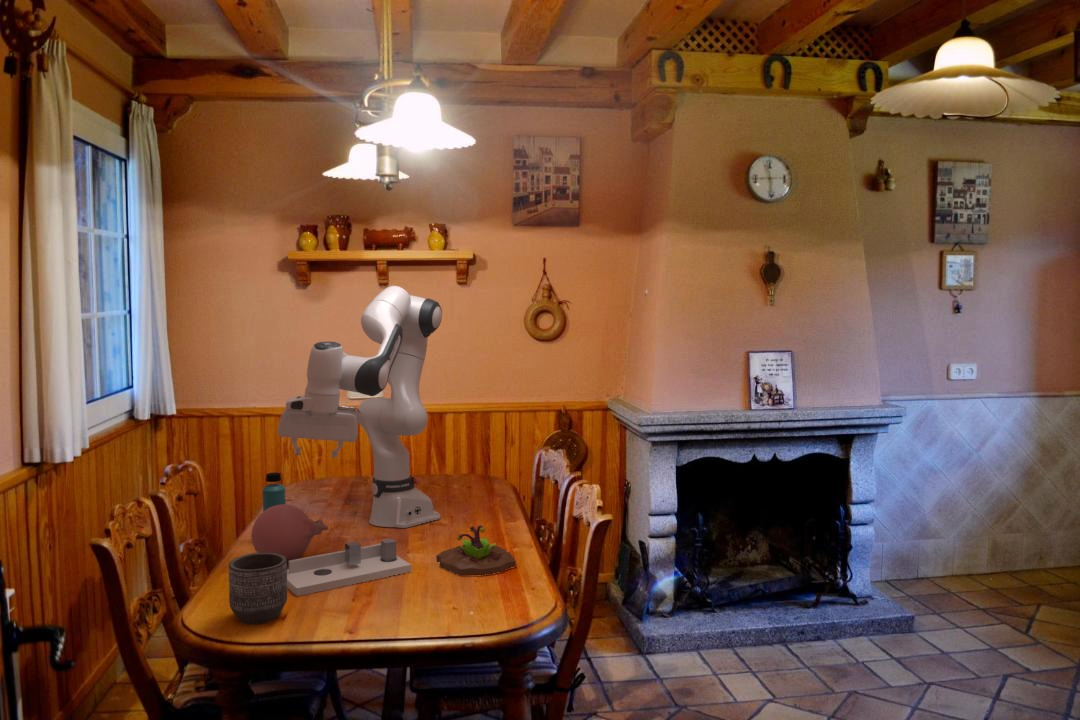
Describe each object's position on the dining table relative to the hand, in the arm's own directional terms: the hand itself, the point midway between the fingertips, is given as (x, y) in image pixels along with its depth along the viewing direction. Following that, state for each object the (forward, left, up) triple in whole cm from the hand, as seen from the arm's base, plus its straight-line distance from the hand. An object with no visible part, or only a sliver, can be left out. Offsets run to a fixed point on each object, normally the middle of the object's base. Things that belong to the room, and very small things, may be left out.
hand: (315, 455), depth 210 cm
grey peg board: (-3, +12, -29) cm, 32 cm away
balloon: (+5, -6, -30) cm, 31 cm away
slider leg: (-5, +11, -27) cm, 29 cm away
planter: (+23, +26, -30) cm, 45 cm away
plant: (-36, +22, -30) cm, 52 cm away
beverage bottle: (+3, -26, -30) cm, 40 cm away
